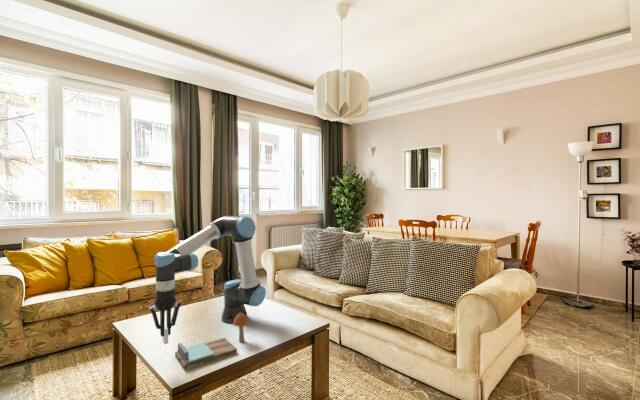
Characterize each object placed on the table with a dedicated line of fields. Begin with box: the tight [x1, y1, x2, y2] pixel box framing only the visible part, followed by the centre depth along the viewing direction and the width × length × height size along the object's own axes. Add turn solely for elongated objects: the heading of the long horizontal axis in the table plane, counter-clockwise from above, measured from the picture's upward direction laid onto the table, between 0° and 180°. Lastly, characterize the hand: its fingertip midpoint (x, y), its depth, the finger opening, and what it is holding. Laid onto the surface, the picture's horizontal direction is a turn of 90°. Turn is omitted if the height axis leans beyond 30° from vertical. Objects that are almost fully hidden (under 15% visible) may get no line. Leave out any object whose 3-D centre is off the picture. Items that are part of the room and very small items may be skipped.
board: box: [174, 337, 238, 371], centre depth 154 cm, size 15×24×2 cm, turn 128°
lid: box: [176, 342, 214, 364], centre depth 151 cm, size 14×12×4 cm
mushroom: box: [232, 313, 250, 343], centre depth 168 cm, size 8×8×15 cm
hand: (165, 342), depth 143 cm, fingers closed
